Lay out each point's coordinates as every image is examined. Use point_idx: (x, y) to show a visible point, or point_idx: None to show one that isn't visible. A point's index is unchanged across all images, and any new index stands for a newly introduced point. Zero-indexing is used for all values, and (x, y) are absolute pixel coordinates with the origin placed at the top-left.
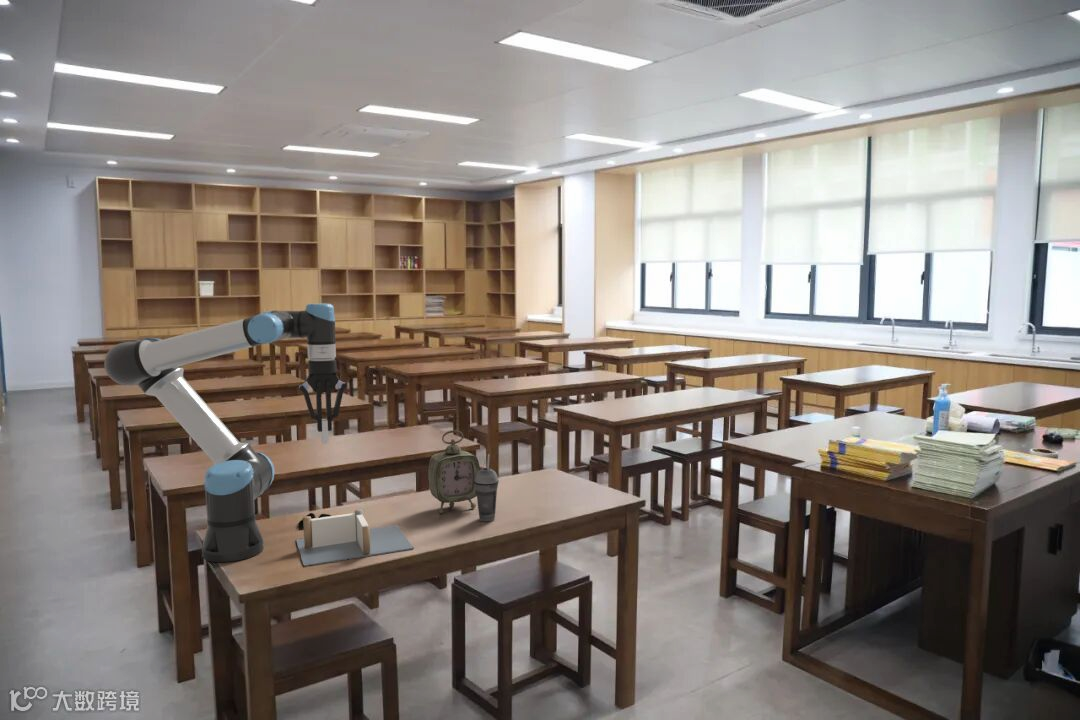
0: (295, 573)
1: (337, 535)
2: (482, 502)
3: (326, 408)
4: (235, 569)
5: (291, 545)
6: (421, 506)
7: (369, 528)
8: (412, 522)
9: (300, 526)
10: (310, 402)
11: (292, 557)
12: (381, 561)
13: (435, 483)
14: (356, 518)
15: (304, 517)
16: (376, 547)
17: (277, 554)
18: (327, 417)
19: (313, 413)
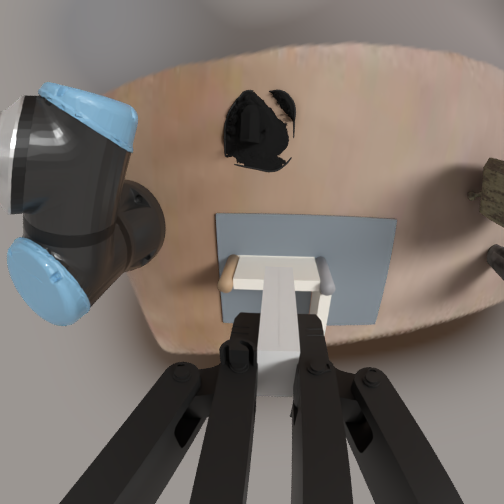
0: (213, 334)
1: None
2: (501, 277)
3: (295, 451)
4: (139, 289)
5: (208, 232)
6: (459, 135)
7: None
8: (422, 212)
9: (228, 140)
10: (152, 498)
11: (209, 283)
12: None
13: (496, 219)
14: (319, 290)
15: (220, 284)
16: (332, 305)
17: (187, 262)
18: (293, 409)
19: (191, 433)
